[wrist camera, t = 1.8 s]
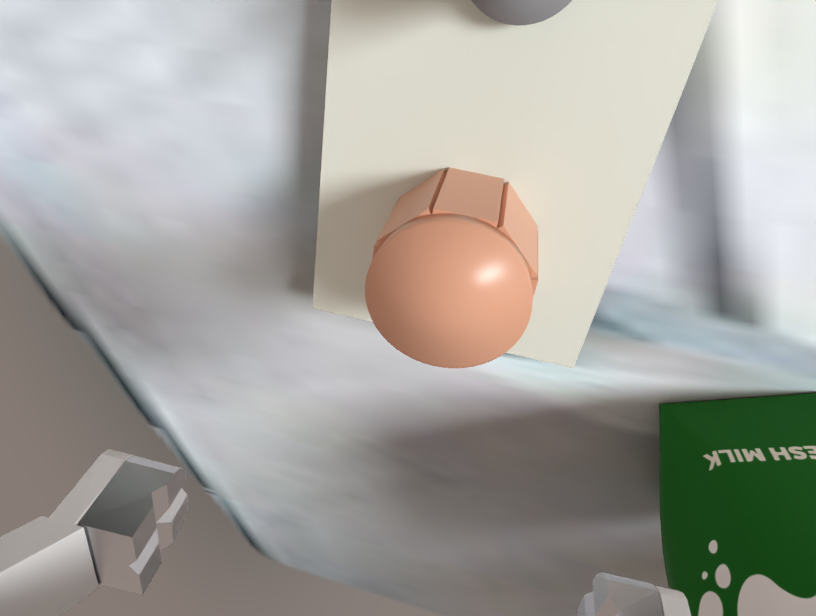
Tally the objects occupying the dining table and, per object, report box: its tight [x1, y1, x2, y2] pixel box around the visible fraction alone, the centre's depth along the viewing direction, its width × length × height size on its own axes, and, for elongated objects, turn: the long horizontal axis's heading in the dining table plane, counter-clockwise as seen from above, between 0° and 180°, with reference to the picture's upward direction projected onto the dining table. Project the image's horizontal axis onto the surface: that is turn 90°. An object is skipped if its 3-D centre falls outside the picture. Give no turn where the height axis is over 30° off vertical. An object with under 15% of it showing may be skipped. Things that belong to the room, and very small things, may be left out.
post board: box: [312, 0, 718, 368], centre depth 19 cm, size 20×12×8 cm, turn 172°
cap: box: [365, 167, 538, 368], centre depth 21 cm, size 6×6×5 cm
